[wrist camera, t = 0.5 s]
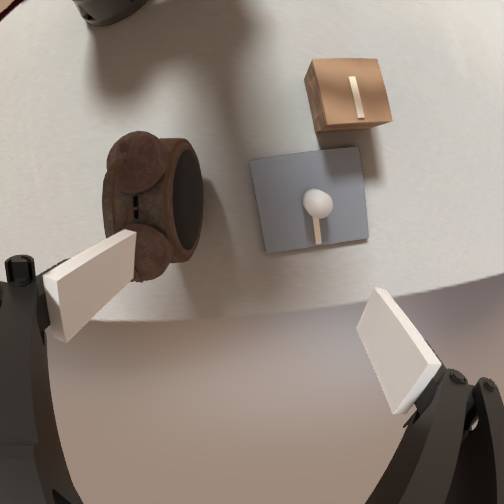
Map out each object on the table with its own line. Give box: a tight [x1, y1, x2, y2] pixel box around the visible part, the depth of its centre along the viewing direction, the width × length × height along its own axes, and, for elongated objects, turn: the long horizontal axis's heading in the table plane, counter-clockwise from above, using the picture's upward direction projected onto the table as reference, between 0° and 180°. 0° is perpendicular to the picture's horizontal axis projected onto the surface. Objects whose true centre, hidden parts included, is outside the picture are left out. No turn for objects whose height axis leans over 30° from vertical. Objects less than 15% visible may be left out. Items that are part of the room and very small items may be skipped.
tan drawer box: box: [304, 58, 392, 133], centre depth 28 cm, size 8×8×8 cm
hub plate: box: [249, 146, 369, 254], centre depth 34 cm, size 13×15×6 cm
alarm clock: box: [102, 131, 203, 282], centre depth 28 cm, size 14×7×20 cm, turn 1°
